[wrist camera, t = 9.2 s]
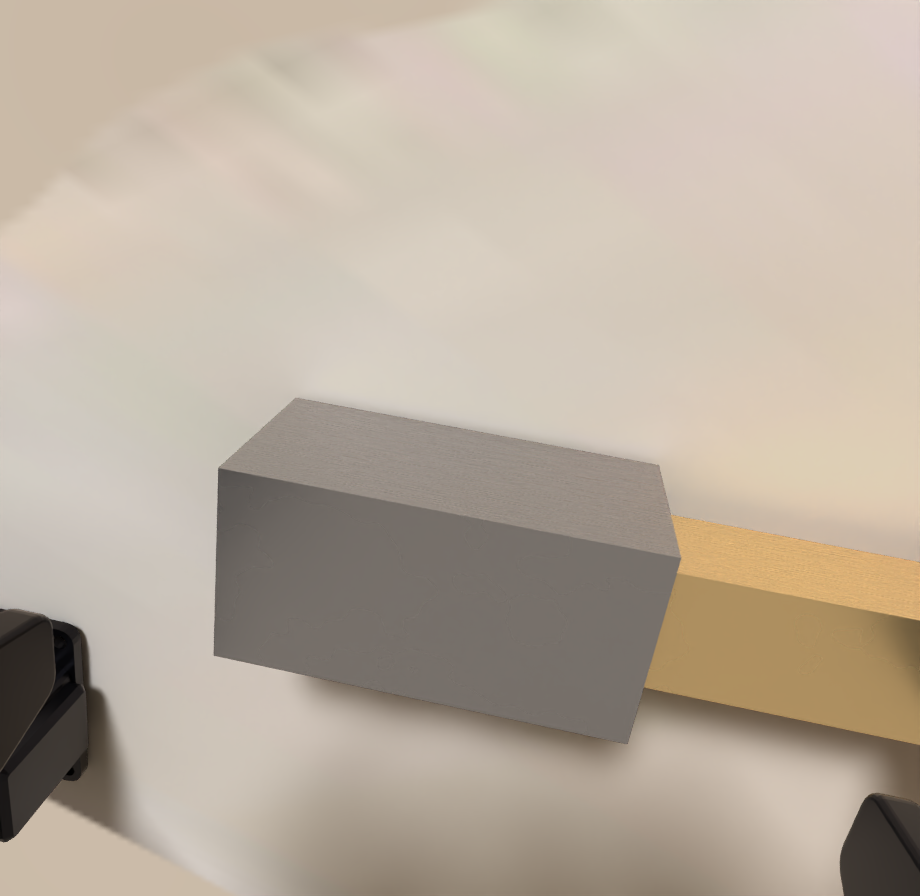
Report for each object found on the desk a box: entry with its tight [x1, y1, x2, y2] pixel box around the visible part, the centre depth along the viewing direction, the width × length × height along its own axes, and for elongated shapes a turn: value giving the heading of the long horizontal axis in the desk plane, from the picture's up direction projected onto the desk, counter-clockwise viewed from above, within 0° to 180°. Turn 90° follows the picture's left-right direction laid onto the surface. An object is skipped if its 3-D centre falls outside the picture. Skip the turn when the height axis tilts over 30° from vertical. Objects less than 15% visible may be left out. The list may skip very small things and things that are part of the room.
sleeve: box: [214, 398, 681, 744], centre depth 20 cm, size 10×5×5 cm, turn 82°
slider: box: [644, 515, 920, 745], centre depth 16 cm, size 15×3×9 cm, turn 82°
